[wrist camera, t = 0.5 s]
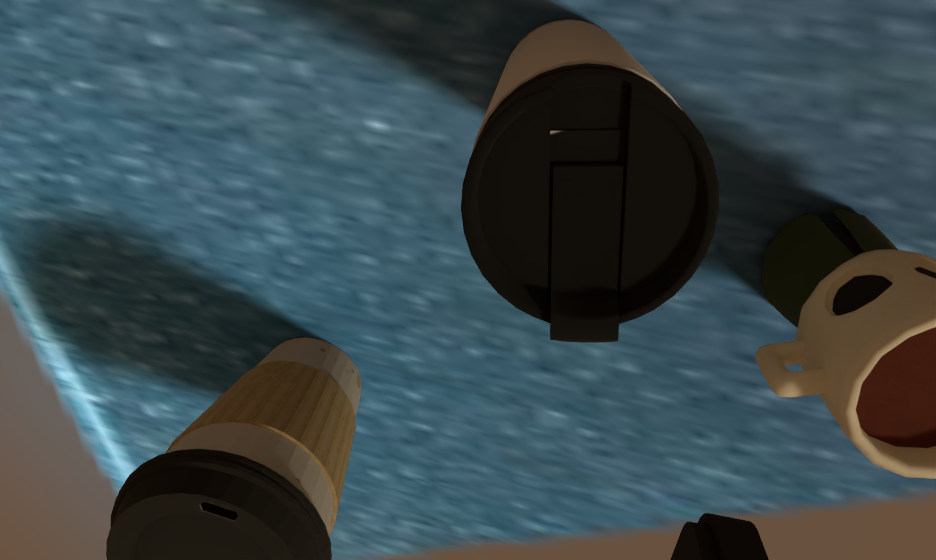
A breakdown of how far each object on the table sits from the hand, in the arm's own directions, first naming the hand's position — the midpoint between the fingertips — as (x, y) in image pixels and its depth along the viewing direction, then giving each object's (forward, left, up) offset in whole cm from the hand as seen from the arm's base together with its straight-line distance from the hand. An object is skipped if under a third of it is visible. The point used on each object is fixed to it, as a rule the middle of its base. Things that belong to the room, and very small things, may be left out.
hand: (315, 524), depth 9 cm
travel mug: (-2, +4, -29) cm, 29 cm away
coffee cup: (+18, -7, -29) cm, 35 cm away
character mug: (+4, +19, -29) cm, 35 cm away
